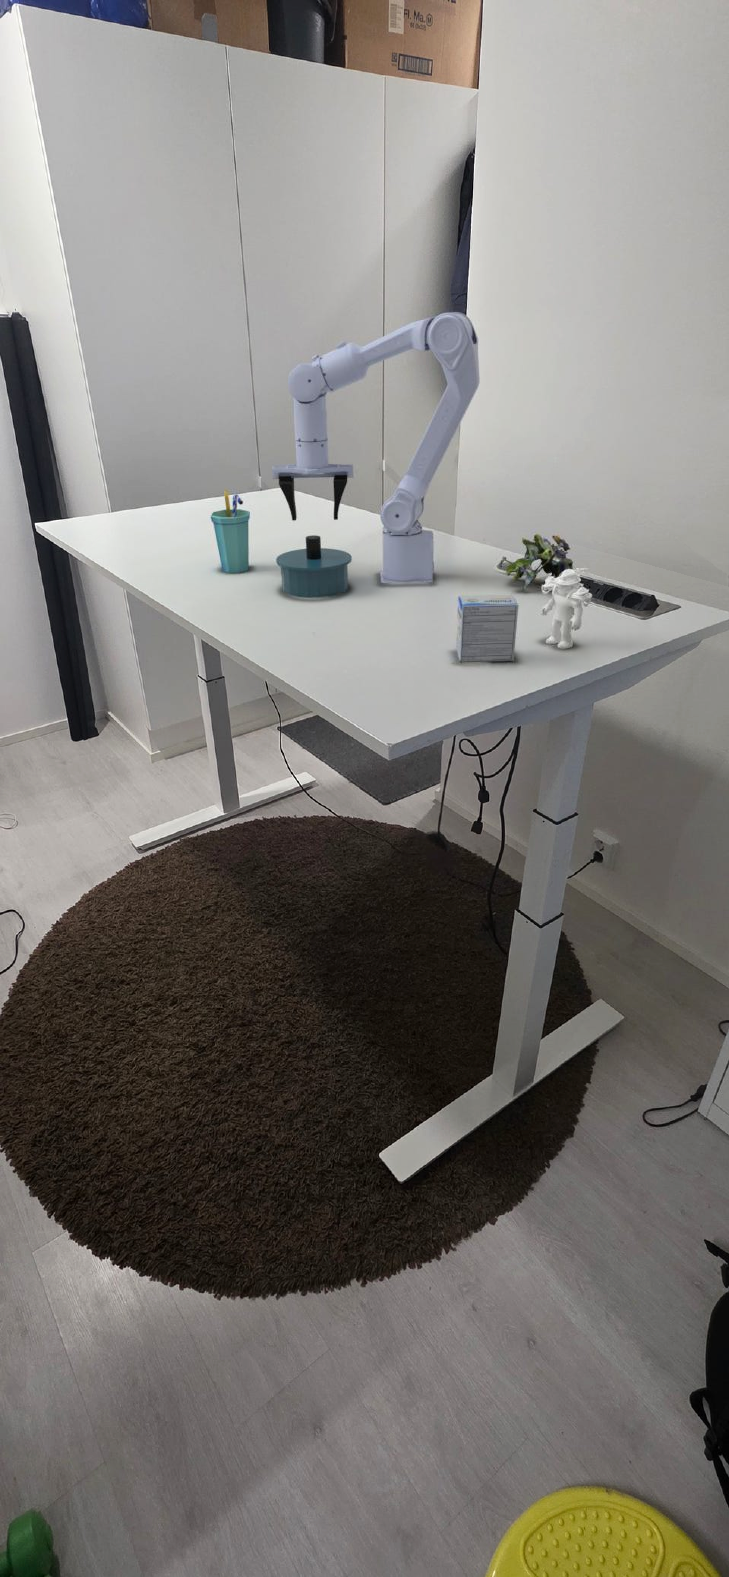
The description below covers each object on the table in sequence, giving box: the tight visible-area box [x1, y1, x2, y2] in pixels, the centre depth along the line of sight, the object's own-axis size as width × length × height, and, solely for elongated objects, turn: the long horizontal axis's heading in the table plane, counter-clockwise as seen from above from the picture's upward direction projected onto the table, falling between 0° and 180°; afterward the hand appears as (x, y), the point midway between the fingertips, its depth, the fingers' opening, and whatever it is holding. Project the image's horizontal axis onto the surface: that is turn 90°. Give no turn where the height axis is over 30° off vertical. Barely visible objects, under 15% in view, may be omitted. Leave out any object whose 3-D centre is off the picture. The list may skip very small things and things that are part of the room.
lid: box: [275, 534, 353, 571], centre depth 143 cm, size 13×13×5 cm
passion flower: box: [498, 533, 575, 593], centre depth 144 cm, size 11×11×12 cm
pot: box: [280, 564, 349, 599], centre depth 146 cm, size 12×12×5 cm
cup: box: [210, 490, 251, 574], centre depth 155 cm, size 14×8×15 cm, turn 25°
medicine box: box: [455, 593, 520, 664], centre depth 115 cm, size 8×4×9 cm, turn 92°
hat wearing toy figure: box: [540, 566, 593, 650], centre depth 119 cm, size 9×4×12 cm, turn 30°
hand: (315, 519), depth 150 cm, fingers open, 7 cm apart
